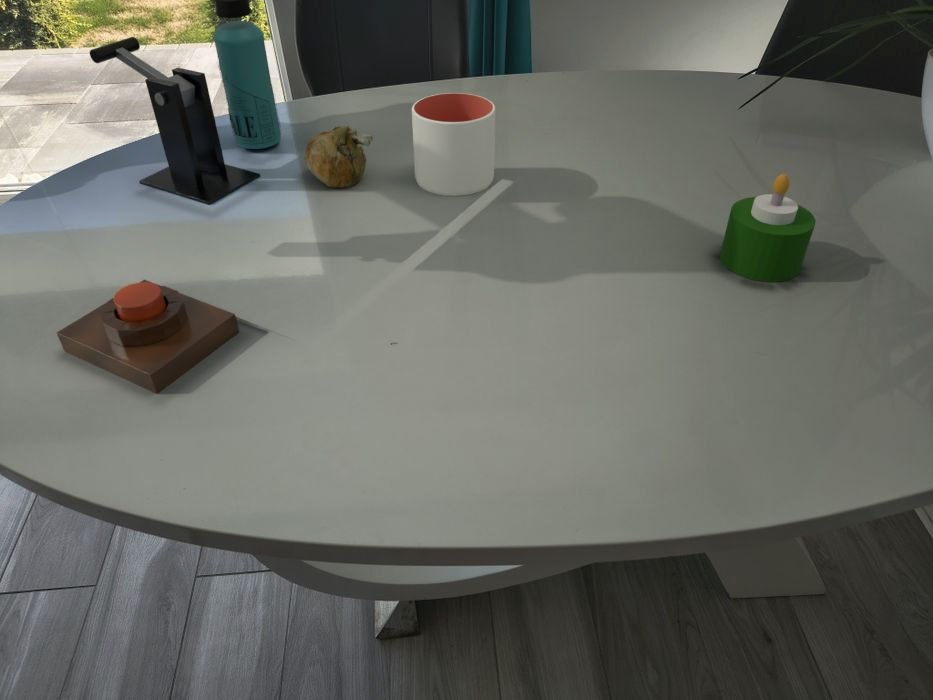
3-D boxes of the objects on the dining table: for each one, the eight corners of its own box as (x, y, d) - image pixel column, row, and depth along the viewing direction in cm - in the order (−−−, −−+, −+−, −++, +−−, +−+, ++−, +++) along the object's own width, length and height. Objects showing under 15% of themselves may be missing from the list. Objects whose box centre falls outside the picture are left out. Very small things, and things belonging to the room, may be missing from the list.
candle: (785, 290, 74) (814, 201, 68) (707, 264, 78) (728, 178, 72) (810, 257, 79) (839, 170, 73) (736, 234, 83) (758, 150, 77)
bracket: (141, 189, 93) (107, 79, 84) (194, 163, 99) (168, 57, 90) (211, 211, 88) (183, 97, 79) (262, 182, 94) (241, 73, 86)
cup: (444, 210, 88) (442, 129, 82) (400, 180, 94) (395, 104, 88) (509, 188, 93) (512, 110, 86) (463, 161, 99) (462, 87, 93)
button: (109, 315, 65) (103, 299, 64) (144, 293, 68) (139, 277, 67) (140, 328, 64) (134, 312, 63) (175, 305, 66) (170, 289, 65)
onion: (352, 165, 98) (346, 106, 93) (380, 188, 93) (375, 127, 88) (299, 179, 95) (290, 119, 90) (324, 203, 90) (316, 140, 85)
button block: (64, 351, 67) (48, 316, 64) (150, 297, 74) (139, 263, 71) (157, 394, 62) (144, 358, 60) (239, 332, 69) (231, 297, 67)
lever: (90, 62, 86) (88, 43, 85) (130, 49, 90) (130, 30, 89) (168, 114, 85) (168, 96, 83) (206, 98, 89) (207, 81, 87)
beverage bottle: (287, 140, 105) (262, -12, 92) (280, 159, 100) (253, 1, 87) (240, 141, 104) (209, -11, 92) (232, 161, 99) (197, 2, 87)
